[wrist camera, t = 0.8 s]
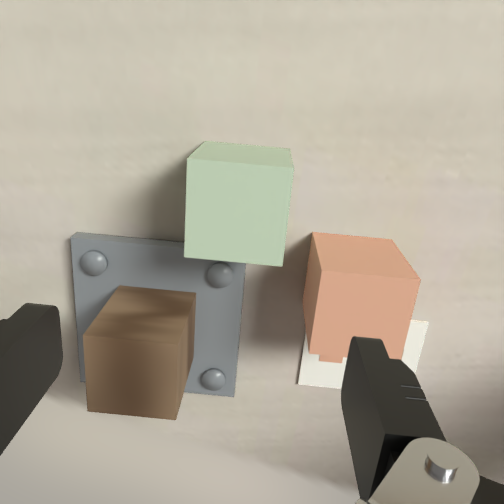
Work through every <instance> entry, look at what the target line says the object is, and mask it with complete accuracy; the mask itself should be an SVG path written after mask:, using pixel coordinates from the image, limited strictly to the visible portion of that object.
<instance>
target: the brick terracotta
mask: <svg viewBox="0 0 504 504" xmlns="http://www.w3.org/2000/svg"><path fill="white" fill-rule="evenodd" d="M420 281H421V279H420V278H419V277H418V275H417V274H416V272H415V271H414V270H413V268H412V267H411V265H410V264H409V263H408V261H407V260H406V259H405V257H404V256H403V254H402V253H401V252H400V250H399V249H398V247H397V246H396V245H395V243H394V242H393V240H391V239H381V238H370V237H360V236H349V235H339V234H328V233H318V232H312V239H311V246H310V253H309V260H308V267H307V274H306V281H305V288H304V295H303V302H302V303H303V311H304V319H305V327H306V335H307V343H308V351H309V354H318V355H328V356H338V357H347V356H348V351H349V346H350V342H351V339H352V337H353V336H357V337H367V338H378V339H381V340H382V341H383V343H384V346H385V348H386V351H387V353H388V356H389V358H391V359H401V358H402V354H403V350H404V346H405V342H406V338H407V334H408V330H409V326H410V321H411V317H412V313H413V309H414V305H415V301H416V297H417V293H418V289H419V285H420Z"/></svg>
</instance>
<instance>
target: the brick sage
mask: <svg viewBox="0 0 504 504" xmlns="http://www.w3.org/2000/svg"><path fill="white" fill-rule="evenodd" d="M293 173H294V165H293V161H292V156H291V151H290V149H288V148H277V147H267V146H256V145H245V144H234V143H223V142H212V141H205V142H204V143H203V144H202V145H200V146H199V147H198V148H197V149H196V150H195V151H194V152H193V153H192V154H191V155H190V156H189V157H188V158H187V177H186V210H185V243H184V257H187V258H198V259H208V260H219V261H229V262H239V263H250V264H260V265H271V266H281V267H282V265H283V257H284V249H285V240H286V232H287V224H288V215H289V207H290V198H291V190H292V182H293Z"/></svg>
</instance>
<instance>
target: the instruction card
mask: <svg viewBox="0 0 504 504" xmlns="http://www.w3.org/2000/svg"><path fill="white" fill-rule="evenodd" d="M428 324H429V323H428V321H418V320H411V321H410V326H409V330H408V334H407V338H406V342H405V346H404V350H403V354H402V358H401V360H402V361H403V362H404V363H405V364H406V365H407V366H408V367H409V368H410V369H411V370H412V371H413V372H414V373H416V369H417V365H418V361H419V358H420V354H421V350H422V346H423V343H424V339H425V335H426V331H427V328H428ZM346 361H347V357H338V356H328V355H318V354H309V351H308V343H307V335H306V333H305V340H304V346H303V353H302V360H301V366H300V373H299V380H298V385H307V386H318V387H328V388H338V389H342V382H343V377H344V372H345V366H346Z"/></svg>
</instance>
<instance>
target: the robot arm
mask: <svg viewBox="0 0 504 504" xmlns="http://www.w3.org/2000/svg"><path fill="white" fill-rule="evenodd" d="M62 359H63V351H62V340H61V328H60V316H59V310H58V308H57V307H56V306H53V305H43V304H33V303H26V304H24V305H23V306H22V307H21V308H20V309H18V310H17V311H16V312H15V313H14V314H13V315H12V316H11V317H10V318H9V319H2V320H0V455H1V454H2V453H3V451H4V449H5V448H6V447H7V446H8V444H9V443H10V441H11V440H12V439H13V437H14V436H15V434H16V433H17V432H18V430H19V429H20V428H21V426H22V425H23V423H24V422H25V421H26V419H27V418H28V417H29V415H30V414H31V412H32V411H33V410H34V408H35V407H36V405H37V404H38V403H39V401H40V400H41V399H42V397H43V396H44V394H45V393H46V392H47V390H48V389H49V387H50V386H51V385H52V383H53V382H54V381H55V379H56V378H57V376H58V374H59V372H60V369H61V365H62ZM341 404H342V410H343V415H344V420H345V425H346V430H347V435H348V440H349V445H350V450H351V455H352V460H353V465H354V470H355V475H356V480H357V484H358V489H359V494H360V499H359V500H358V501H357V502H356V503H355V504H504V485H502V484H500V483H497V482H494V481H491V480H489V479H486V478H484V477H482V476H480V475H479V473H478V470H477V468H476V466H475V464H474V463H473V461H472V460H471V459H470V458H469V457H468V456H467V455H466V454H465V453H464V452H462V451H461V450H460V449H458V448H457V447H455V446H453V445H452V444H450V443H447V442H446V439H445V437H444V435H443V433H442V431H441V429H440V427H439V424H438V422H437V420H436V418H435V416H434V414H433V412H432V410H431V407H430V405H429V403H428V401H426V397H425V395H424V392H423V390H422V389H421V386H420V384H419V382H418V380H417V378H416V375H415V373H414V372H413V371H412V370H411V369H410V368H409V367H408V366H407V365H406V364H405V363H404V362H403V361H402V360H401V359H391V358H389V356H388V353H387V351H386V348H385V346H384V343H383V341H382V340H381V339H378V338H367V337H357V336H353V337H352V339H351V342H350V346H349V351H348V356H347V361H346V366H345V372H344V377H343V382H342V390H341Z"/></svg>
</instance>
